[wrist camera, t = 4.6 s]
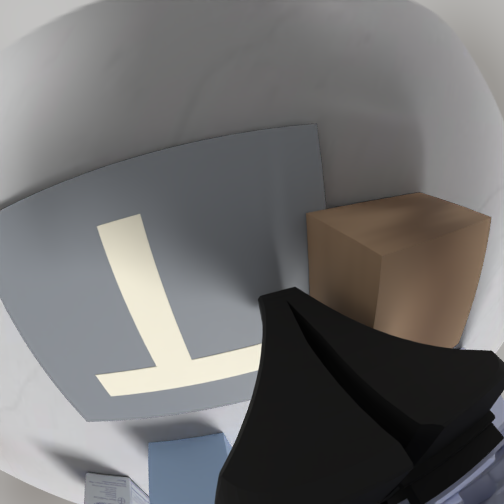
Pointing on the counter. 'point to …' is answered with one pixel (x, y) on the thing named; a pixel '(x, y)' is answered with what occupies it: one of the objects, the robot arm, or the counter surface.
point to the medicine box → (112, 490)
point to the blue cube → (186, 469)
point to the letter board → (162, 270)
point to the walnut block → (399, 264)
